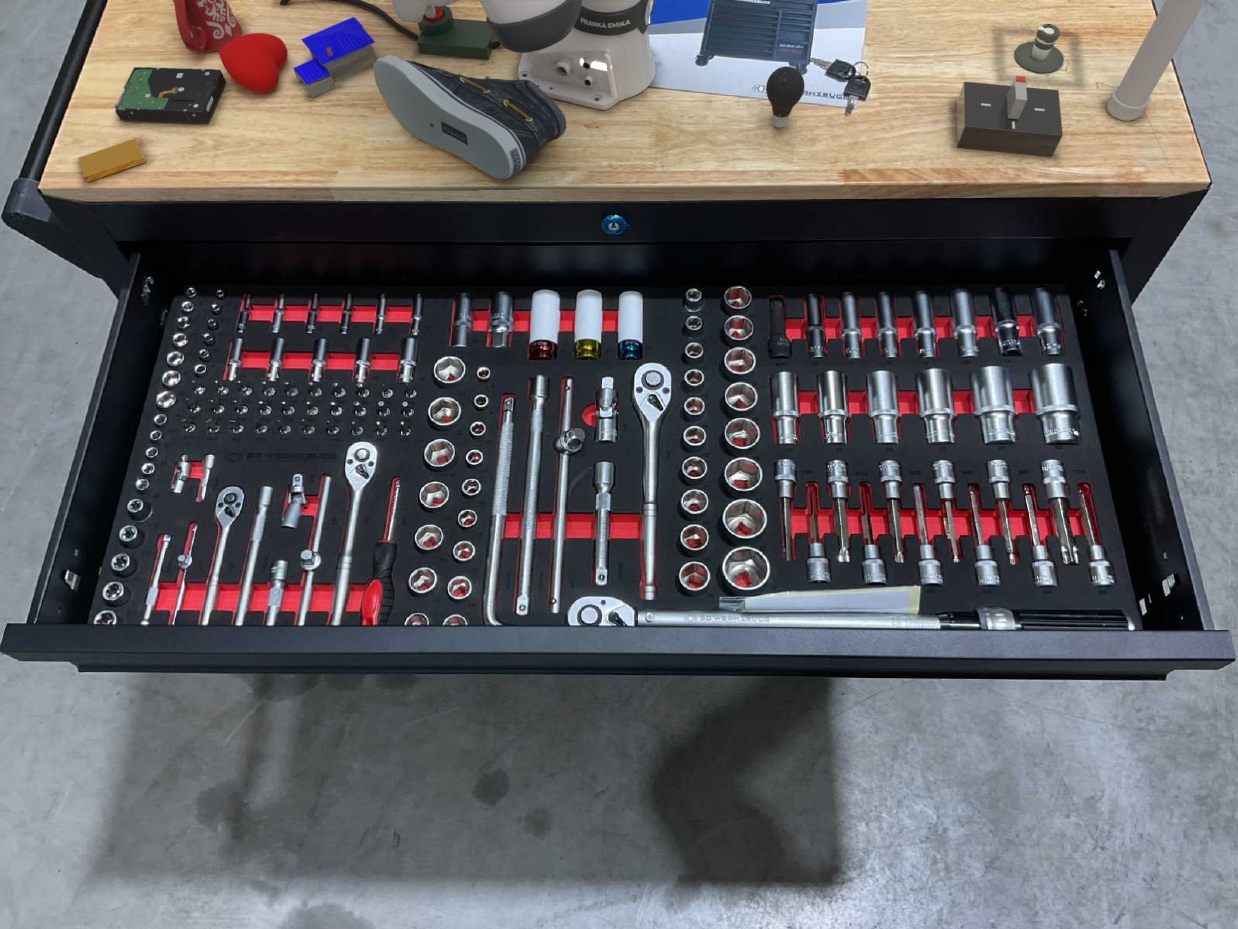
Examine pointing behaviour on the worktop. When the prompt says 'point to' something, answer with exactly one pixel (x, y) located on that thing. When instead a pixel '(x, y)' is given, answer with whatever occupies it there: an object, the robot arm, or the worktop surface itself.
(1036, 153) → the lever switch box
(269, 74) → the heart
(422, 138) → the boat shoe
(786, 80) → the light bulb
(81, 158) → the golden brown flat block
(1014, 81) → the grey switch knob
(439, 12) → the button
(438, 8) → the robot arm
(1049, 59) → the grey disc with post
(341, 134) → the worktop surface
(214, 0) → the mug
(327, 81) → the house
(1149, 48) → the pipe
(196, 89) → the disk drive
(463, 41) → the button box
